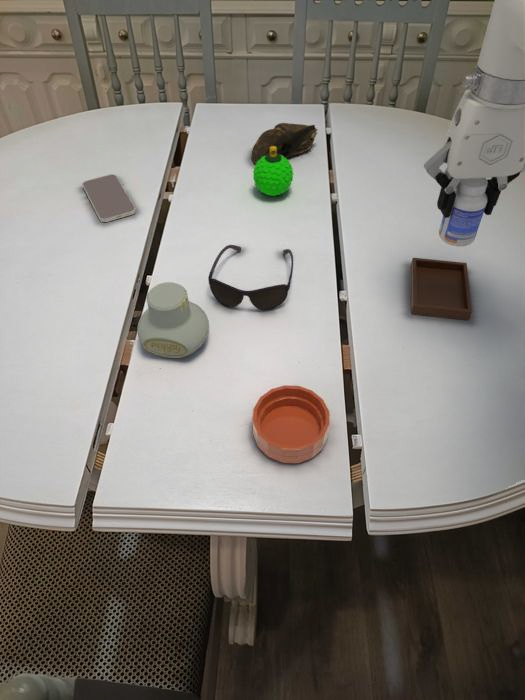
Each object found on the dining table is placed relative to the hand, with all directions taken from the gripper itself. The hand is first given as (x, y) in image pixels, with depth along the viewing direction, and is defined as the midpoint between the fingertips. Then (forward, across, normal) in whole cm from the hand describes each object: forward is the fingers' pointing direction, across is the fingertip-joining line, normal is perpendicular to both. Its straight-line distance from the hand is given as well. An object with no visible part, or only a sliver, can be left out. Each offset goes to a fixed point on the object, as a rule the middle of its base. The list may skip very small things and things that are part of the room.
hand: (464, 209), depth 78 cm
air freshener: (+17, -44, -7) cm, 48 cm away
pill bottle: (+5, 0, 0) cm, 5 cm away
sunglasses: (+17, -31, +6) cm, 36 cm away
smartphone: (+16, -59, +34) cm, 70 cm away
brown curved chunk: (+17, -21, +49) cm, 56 cm away
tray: (+16, 0, 0) cm, 16 cm away
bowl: (+16, -28, -25) cm, 41 cm away
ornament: (+17, -25, +33) cm, 44 cm away
